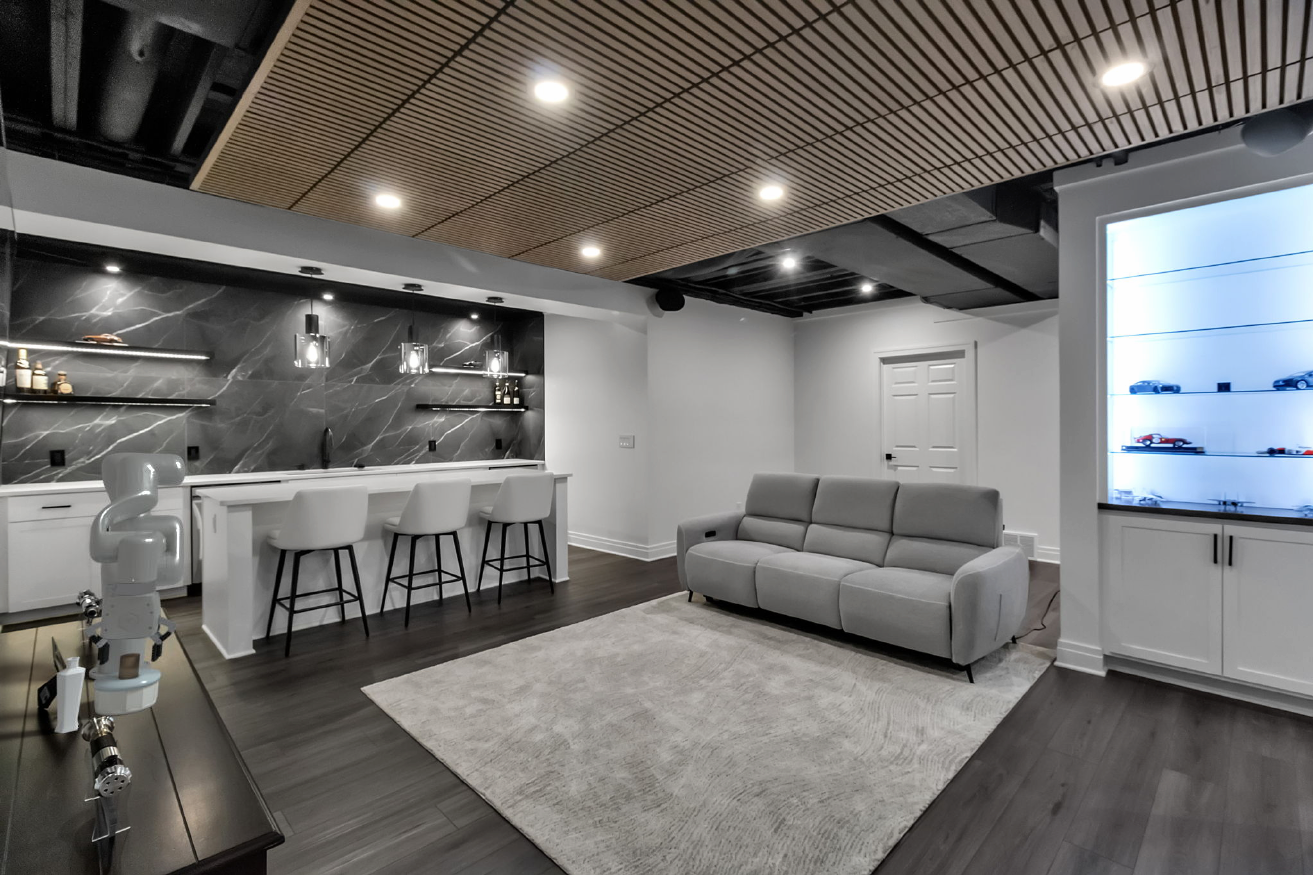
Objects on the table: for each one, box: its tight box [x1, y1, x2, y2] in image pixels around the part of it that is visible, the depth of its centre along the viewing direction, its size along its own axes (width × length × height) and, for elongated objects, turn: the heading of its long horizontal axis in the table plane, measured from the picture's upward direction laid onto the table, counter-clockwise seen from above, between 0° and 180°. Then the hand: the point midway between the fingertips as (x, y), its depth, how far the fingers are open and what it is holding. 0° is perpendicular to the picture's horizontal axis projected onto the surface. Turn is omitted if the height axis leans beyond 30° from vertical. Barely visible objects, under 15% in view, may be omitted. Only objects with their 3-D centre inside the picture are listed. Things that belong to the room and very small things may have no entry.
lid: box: [93, 653, 162, 692], centre depth 148 cm, size 12×12×6 cm
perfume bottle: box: [54, 656, 86, 734], centre depth 136 cm, size 5×4×15 cm
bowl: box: [93, 680, 160, 717], centre depth 148 cm, size 11×11×6 cm
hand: (129, 661), depth 148 cm, fingers open, 9 cm apart
